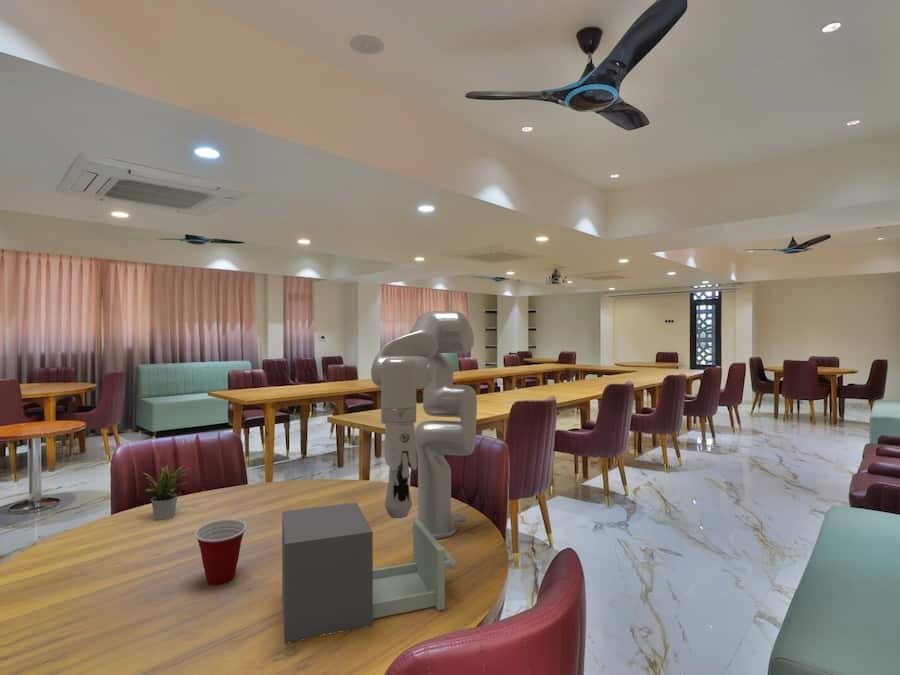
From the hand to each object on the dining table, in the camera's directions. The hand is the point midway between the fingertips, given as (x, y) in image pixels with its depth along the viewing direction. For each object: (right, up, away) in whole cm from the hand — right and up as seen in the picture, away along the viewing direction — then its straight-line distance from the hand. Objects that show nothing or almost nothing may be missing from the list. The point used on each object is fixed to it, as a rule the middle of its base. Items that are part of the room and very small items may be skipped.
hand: (398, 500), depth 104 cm
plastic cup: (-42, -21, +7) cm, 47 cm away
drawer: (+1, -20, 0) cm, 20 cm away
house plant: (-76, -21, +46) cm, 92 cm away
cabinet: (-15, -20, -6) cm, 26 cm away
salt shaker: (0, -3, 0) cm, 3 cm away
